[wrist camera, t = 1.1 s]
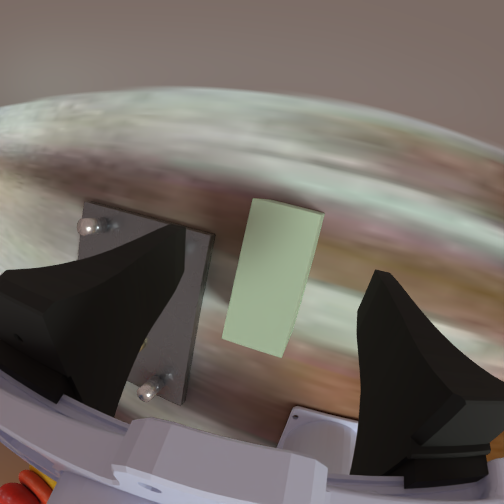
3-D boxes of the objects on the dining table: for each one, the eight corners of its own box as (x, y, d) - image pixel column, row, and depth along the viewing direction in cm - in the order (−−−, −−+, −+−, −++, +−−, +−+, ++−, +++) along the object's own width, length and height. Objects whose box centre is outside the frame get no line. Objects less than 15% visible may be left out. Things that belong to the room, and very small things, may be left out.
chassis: (185, 400, 28) (168, 420, 24) (82, 348, 30) (61, 360, 27) (215, 234, 24) (196, 239, 21) (91, 201, 27) (65, 202, 24)
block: (293, 329, 24) (281, 358, 19) (243, 313, 25) (221, 338, 20) (324, 213, 22) (321, 215, 17) (270, 199, 23) (252, 197, 18)
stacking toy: (76, 396, 32) (-31, 470, 15) (127, 426, 31) (20, 523, 13) (82, 437, 34) (-6, 508, 16) (129, 465, 32) (44, 553, 14)
